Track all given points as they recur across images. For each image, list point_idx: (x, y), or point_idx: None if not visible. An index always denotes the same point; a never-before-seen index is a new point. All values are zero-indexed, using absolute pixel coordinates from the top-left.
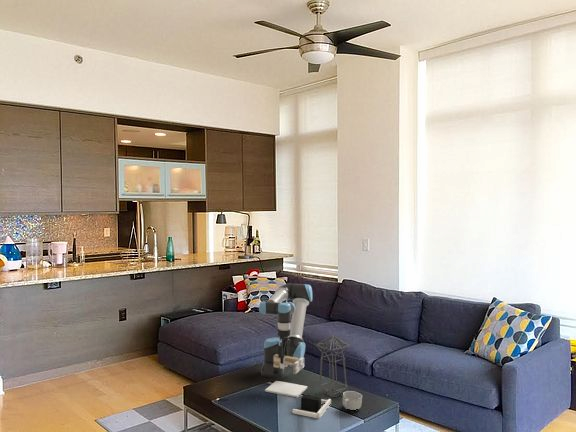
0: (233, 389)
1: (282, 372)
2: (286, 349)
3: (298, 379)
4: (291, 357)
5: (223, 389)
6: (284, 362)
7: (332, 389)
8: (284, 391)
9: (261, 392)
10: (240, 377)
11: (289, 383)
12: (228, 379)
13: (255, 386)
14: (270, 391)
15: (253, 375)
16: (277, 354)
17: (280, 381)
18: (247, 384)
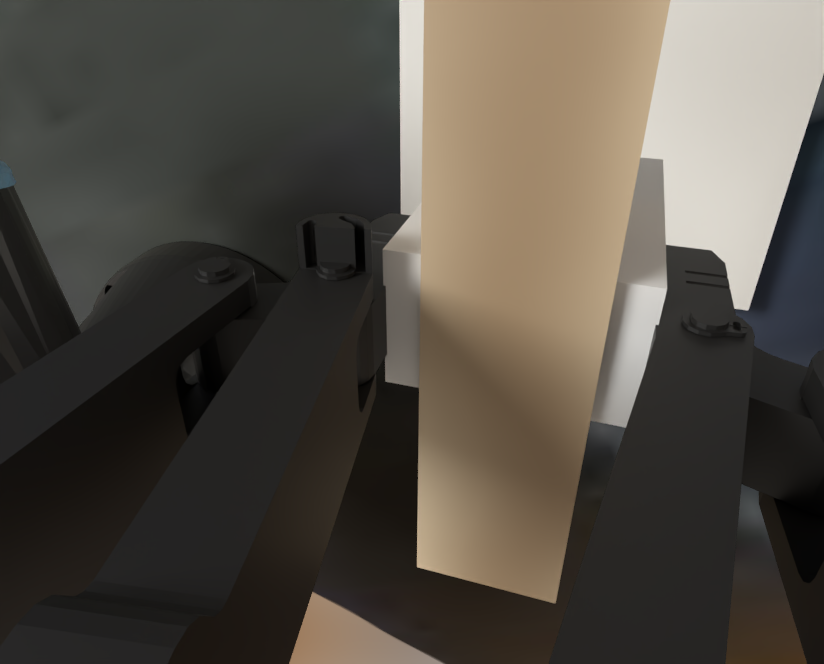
0: (759, 591)
1: (191, 260)
2: (310, 427)
3: (196, 12)
4: (524, 9)
5: (779, 659)
6: (638, 218)
7: None
8: (755, 17)
9: (790, 330)
10: (443, 575)
11: (416, 64)
12: (526, 644)
13: (613, 428)
14: (770, 229)
15: (350, 493)
16: (417, 530)
17: (404, 206)
18: (584, 504)
